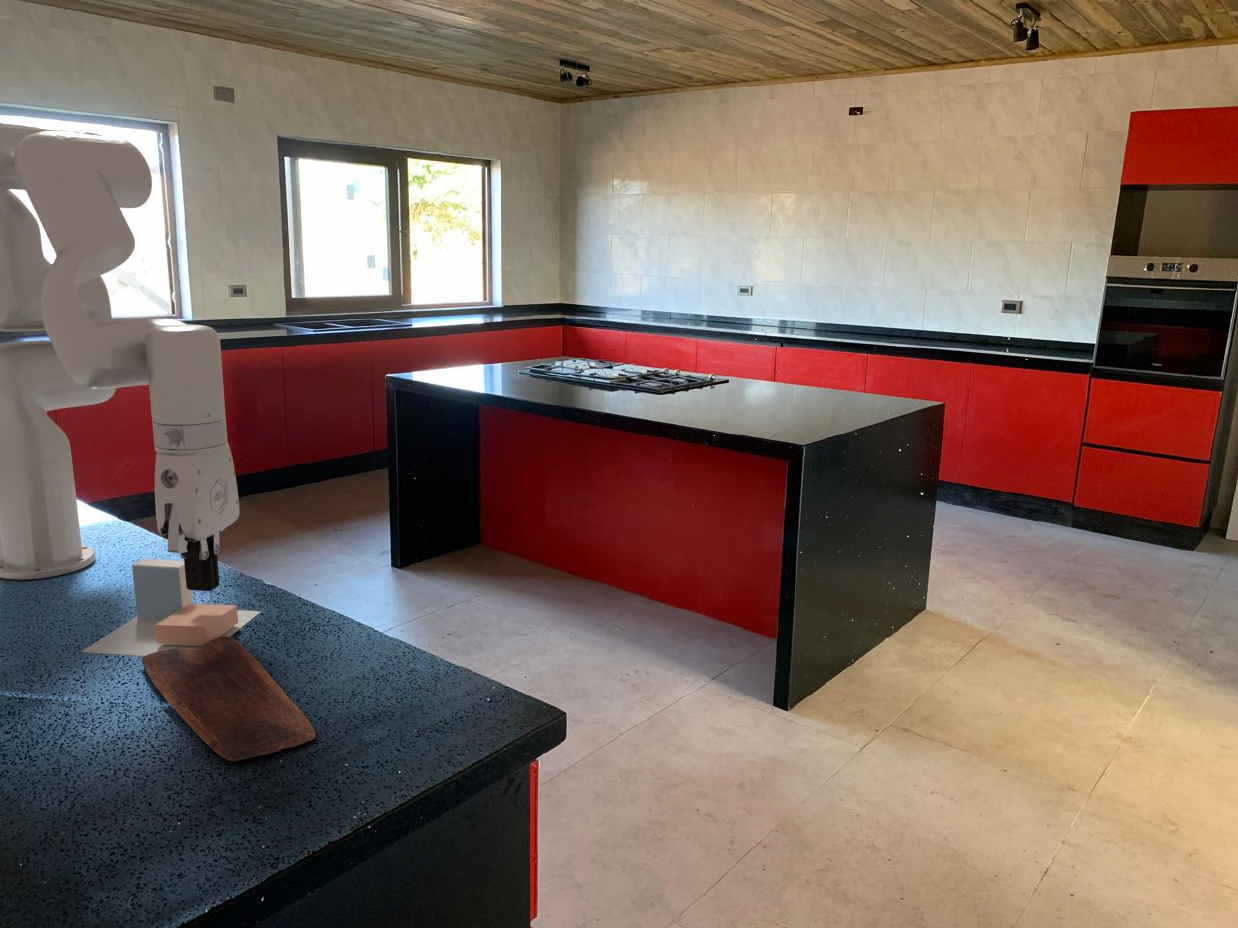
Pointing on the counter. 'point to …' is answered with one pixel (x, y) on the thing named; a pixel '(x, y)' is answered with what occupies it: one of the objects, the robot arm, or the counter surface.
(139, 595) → the cream block
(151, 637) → the grey mat
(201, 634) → the salmon pink block
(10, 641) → the counter surface
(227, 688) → the wooden tablet
